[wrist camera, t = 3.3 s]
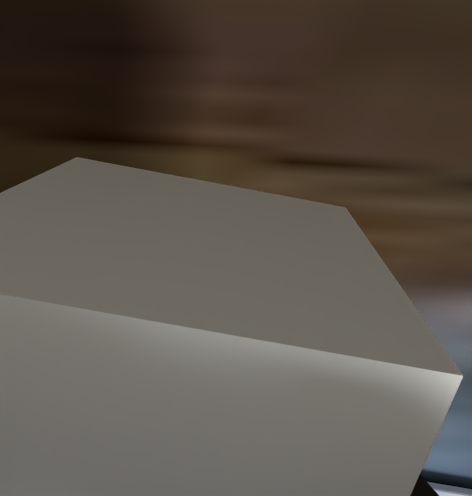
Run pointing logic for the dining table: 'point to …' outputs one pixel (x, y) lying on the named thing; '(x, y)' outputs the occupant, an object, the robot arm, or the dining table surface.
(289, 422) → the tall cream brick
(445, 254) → the dining table surface
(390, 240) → the dining table surface
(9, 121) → the dining table surface
